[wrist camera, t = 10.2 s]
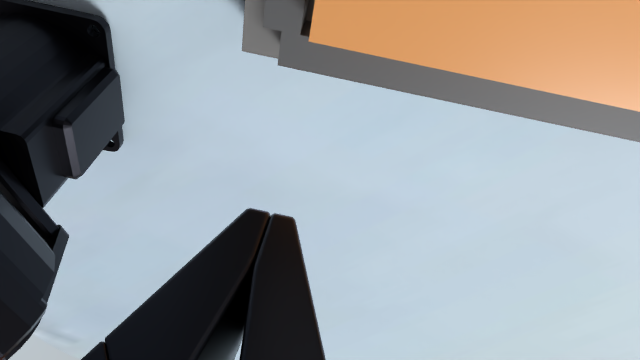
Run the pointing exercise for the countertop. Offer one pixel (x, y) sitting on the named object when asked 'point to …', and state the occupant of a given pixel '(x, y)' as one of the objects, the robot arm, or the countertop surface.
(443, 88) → the panel
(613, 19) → the push button
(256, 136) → the countertop surface
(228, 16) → the countertop surface
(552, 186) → the countertop surface
